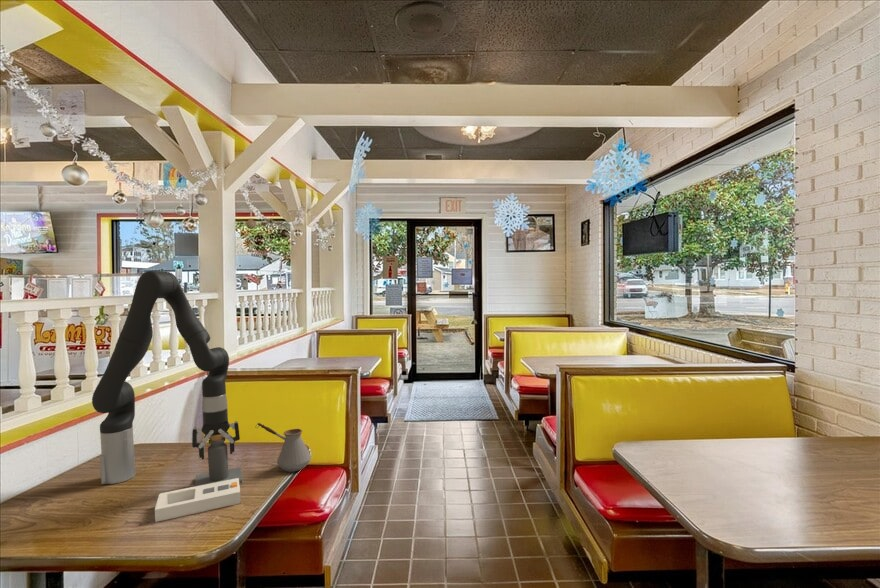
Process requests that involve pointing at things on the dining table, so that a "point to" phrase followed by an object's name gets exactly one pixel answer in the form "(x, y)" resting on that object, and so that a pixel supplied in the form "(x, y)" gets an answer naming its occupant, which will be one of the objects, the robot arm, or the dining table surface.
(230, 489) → the power strip
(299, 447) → the coffee pot
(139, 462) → the dining table surface
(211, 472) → the bottle
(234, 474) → the mat
